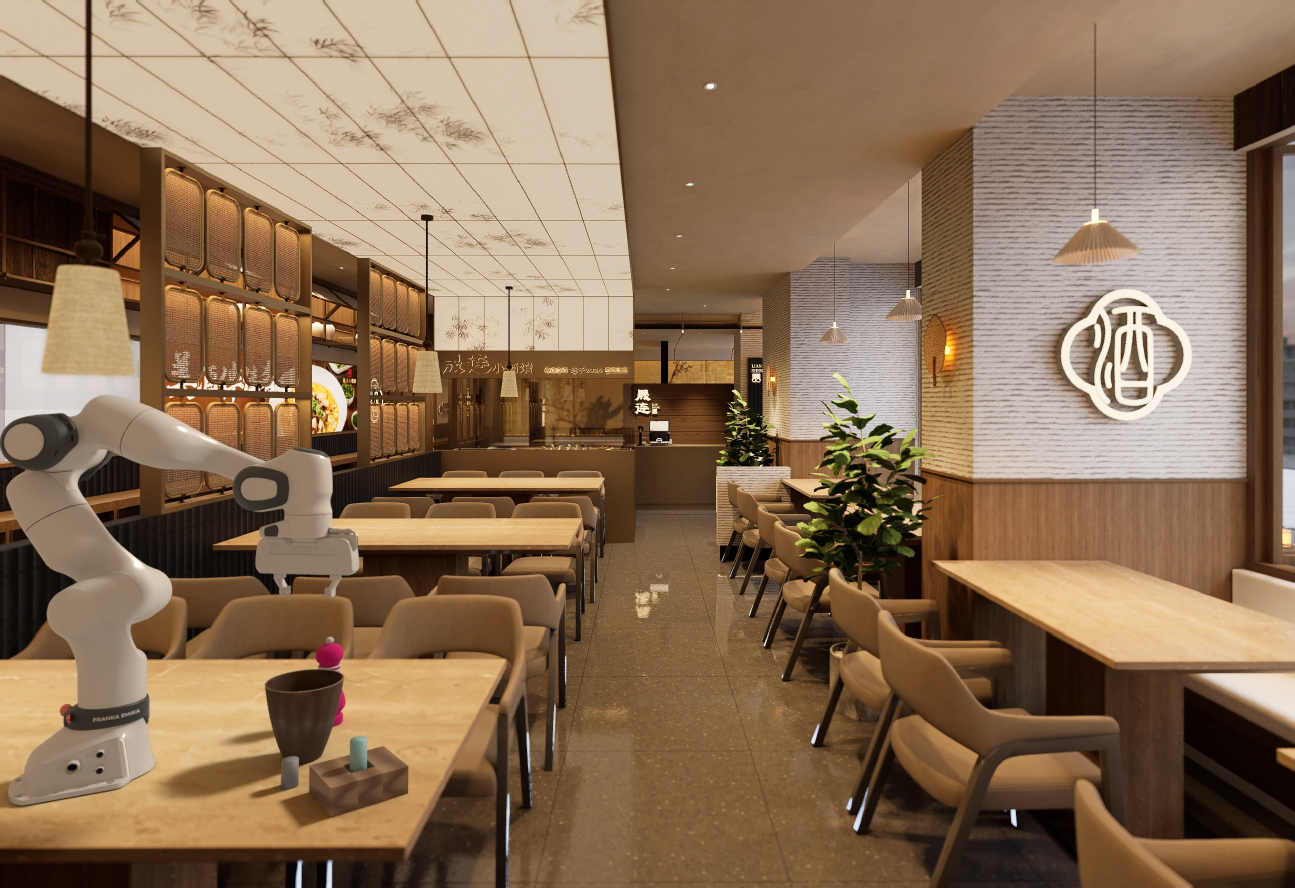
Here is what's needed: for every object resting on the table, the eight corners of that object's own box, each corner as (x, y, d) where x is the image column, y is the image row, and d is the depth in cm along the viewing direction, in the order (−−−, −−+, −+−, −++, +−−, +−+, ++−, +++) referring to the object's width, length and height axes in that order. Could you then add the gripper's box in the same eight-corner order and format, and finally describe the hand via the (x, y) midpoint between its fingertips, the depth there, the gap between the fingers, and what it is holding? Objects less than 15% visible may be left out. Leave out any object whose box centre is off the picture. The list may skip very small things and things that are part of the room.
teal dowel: (352, 798, 135) (353, 743, 135) (346, 792, 137) (347, 738, 137) (369, 793, 137) (369, 739, 137) (363, 787, 139) (363, 734, 139)
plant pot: (354, 742, 160) (355, 669, 160) (324, 773, 145) (325, 692, 145) (285, 741, 160) (286, 668, 160) (248, 772, 145) (249, 691, 145)
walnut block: (330, 817, 128) (330, 788, 128) (309, 792, 137) (309, 765, 137) (408, 793, 137) (408, 766, 137) (383, 771, 146) (383, 745, 146)
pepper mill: (332, 730, 167) (334, 641, 167) (304, 727, 168) (305, 639, 168) (351, 718, 174) (353, 634, 174) (324, 715, 175) (325, 632, 175)
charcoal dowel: (283, 791, 137) (283, 764, 137) (278, 785, 140) (279, 759, 140) (300, 786, 139) (300, 760, 139) (295, 780, 142) (296, 754, 142)
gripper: (365, 527, 151) (364, 594, 151) (269, 525, 153) (268, 591, 153) (350, 530, 145) (349, 600, 145) (251, 528, 146) (250, 597, 146)
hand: (307, 596), depth 149 cm, fingers open, 8 cm apart
